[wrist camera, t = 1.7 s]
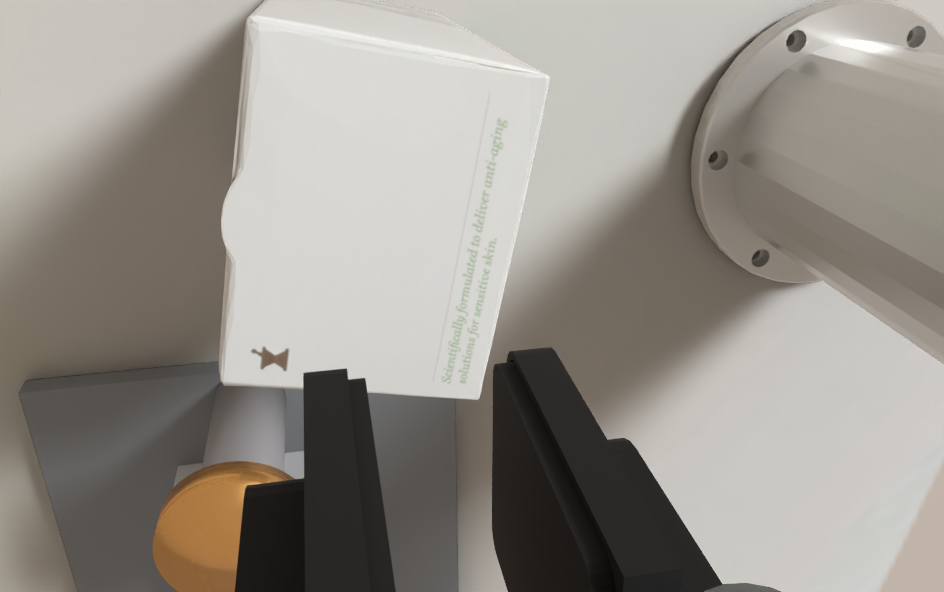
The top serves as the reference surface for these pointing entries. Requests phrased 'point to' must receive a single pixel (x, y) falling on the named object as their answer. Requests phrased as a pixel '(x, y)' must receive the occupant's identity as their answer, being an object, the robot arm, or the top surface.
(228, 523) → the orange crank handle
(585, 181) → the top surface
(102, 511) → the sled board
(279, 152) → the skincare box
